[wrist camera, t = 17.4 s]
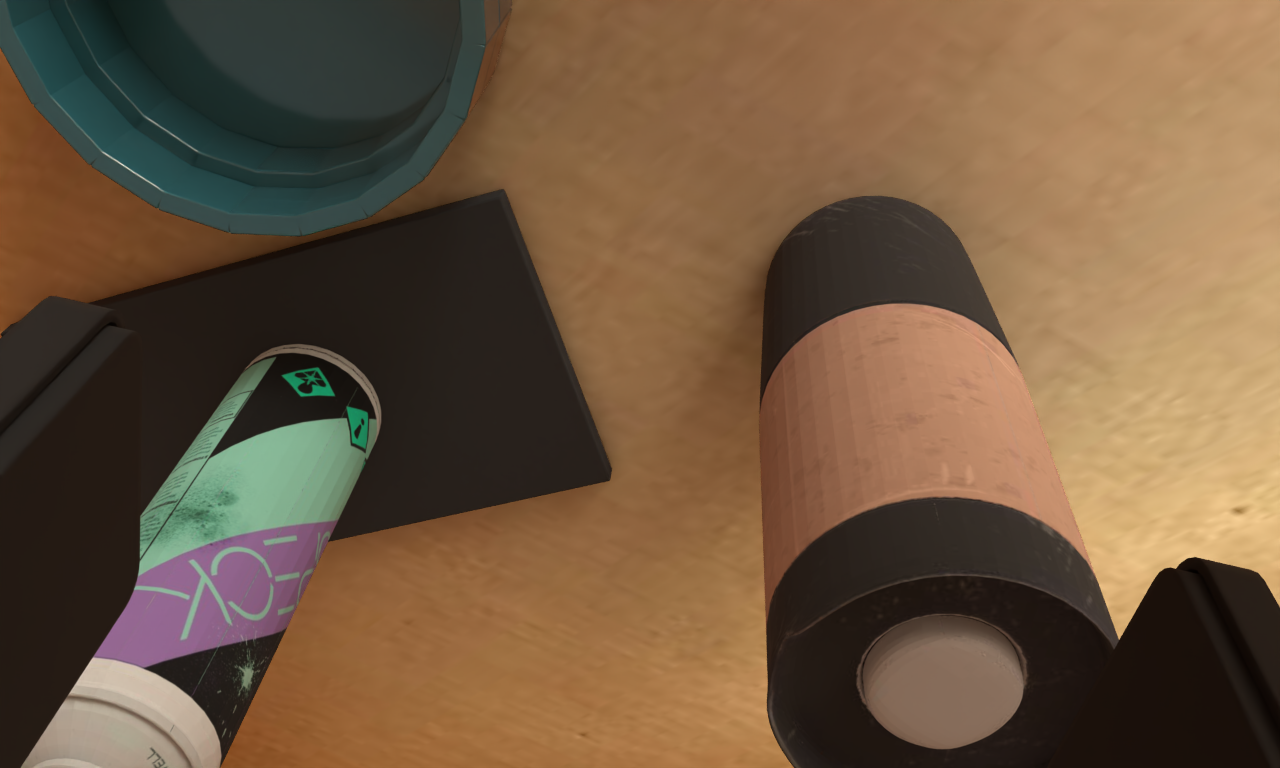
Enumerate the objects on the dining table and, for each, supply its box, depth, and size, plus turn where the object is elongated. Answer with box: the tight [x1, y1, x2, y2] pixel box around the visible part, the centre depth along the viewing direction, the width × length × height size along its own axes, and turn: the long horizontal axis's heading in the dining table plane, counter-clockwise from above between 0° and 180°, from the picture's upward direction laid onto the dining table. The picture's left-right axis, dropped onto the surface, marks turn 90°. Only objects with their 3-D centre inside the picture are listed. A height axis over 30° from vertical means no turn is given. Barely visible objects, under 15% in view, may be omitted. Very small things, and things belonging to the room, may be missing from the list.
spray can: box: [21, 344, 381, 768], centre depth 38 cm, size 6×6×20 cm
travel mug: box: [759, 196, 1119, 768], centre depth 34 cm, size 8×8×20 cm
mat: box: [1, 189, 612, 542], centre depth 47 cm, size 12×20×1 cm, turn 107°
